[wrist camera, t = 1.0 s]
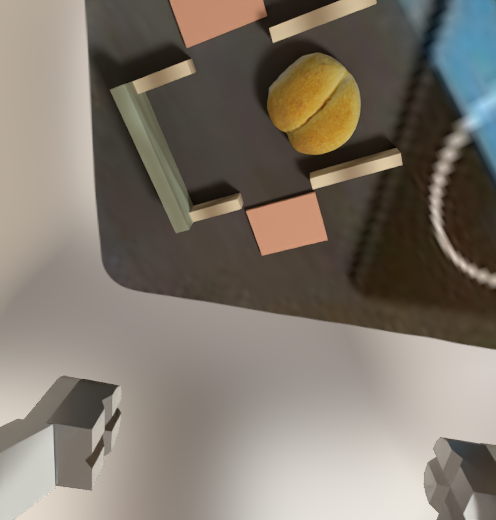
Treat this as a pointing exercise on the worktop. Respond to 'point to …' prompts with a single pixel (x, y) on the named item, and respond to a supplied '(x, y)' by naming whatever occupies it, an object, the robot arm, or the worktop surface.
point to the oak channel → (161, 160)
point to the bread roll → (315, 104)
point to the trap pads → (281, 212)
